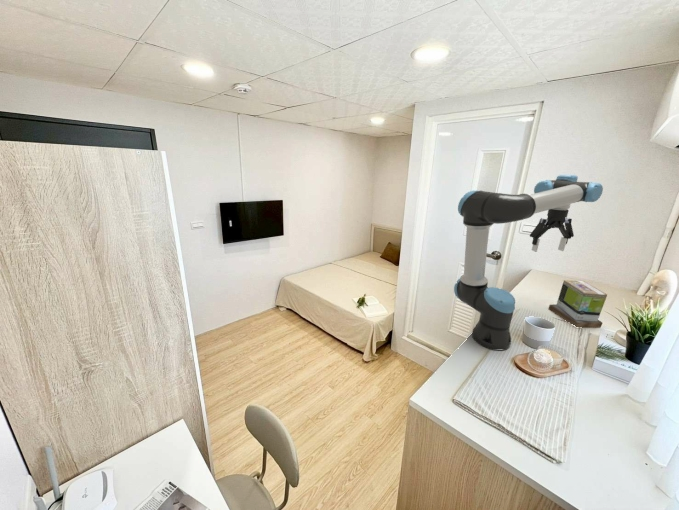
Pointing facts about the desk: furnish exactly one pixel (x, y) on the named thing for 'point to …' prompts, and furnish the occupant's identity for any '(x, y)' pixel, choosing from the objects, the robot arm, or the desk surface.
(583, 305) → the tea box
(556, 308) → the plate
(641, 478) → the desk surface
